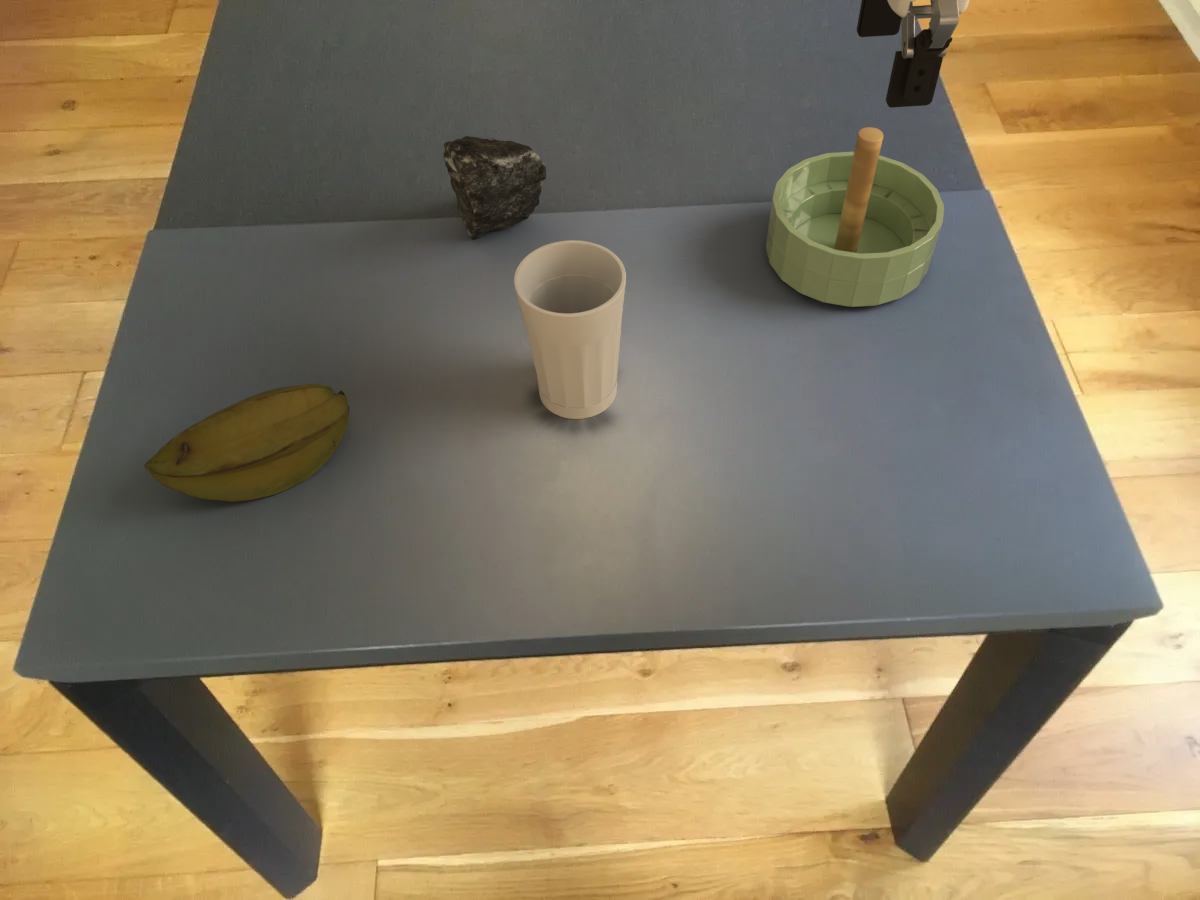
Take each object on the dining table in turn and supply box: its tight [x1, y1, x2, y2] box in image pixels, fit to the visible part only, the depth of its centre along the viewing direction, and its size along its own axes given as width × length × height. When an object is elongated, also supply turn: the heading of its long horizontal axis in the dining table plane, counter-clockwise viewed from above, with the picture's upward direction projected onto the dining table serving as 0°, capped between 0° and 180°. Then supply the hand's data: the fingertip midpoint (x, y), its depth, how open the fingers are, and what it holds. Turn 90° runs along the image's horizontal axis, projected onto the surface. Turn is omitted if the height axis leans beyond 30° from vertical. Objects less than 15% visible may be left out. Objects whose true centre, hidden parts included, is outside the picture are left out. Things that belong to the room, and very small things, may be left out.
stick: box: [834, 126, 884, 253], centre depth 82 cm, size 2×2×12 cm
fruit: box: [143, 383, 350, 503], centre depth 72 cm, size 11×12×7 cm
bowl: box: [765, 151, 945, 308], centre depth 85 cm, size 14×14×6 cm
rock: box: [442, 135, 547, 241], centre depth 87 cm, size 8×7×10 cm
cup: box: [513, 239, 627, 420], centre depth 74 cm, size 8×8×12 cm
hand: (891, 67), depth 73 cm, fingers open, 9 cm apart
